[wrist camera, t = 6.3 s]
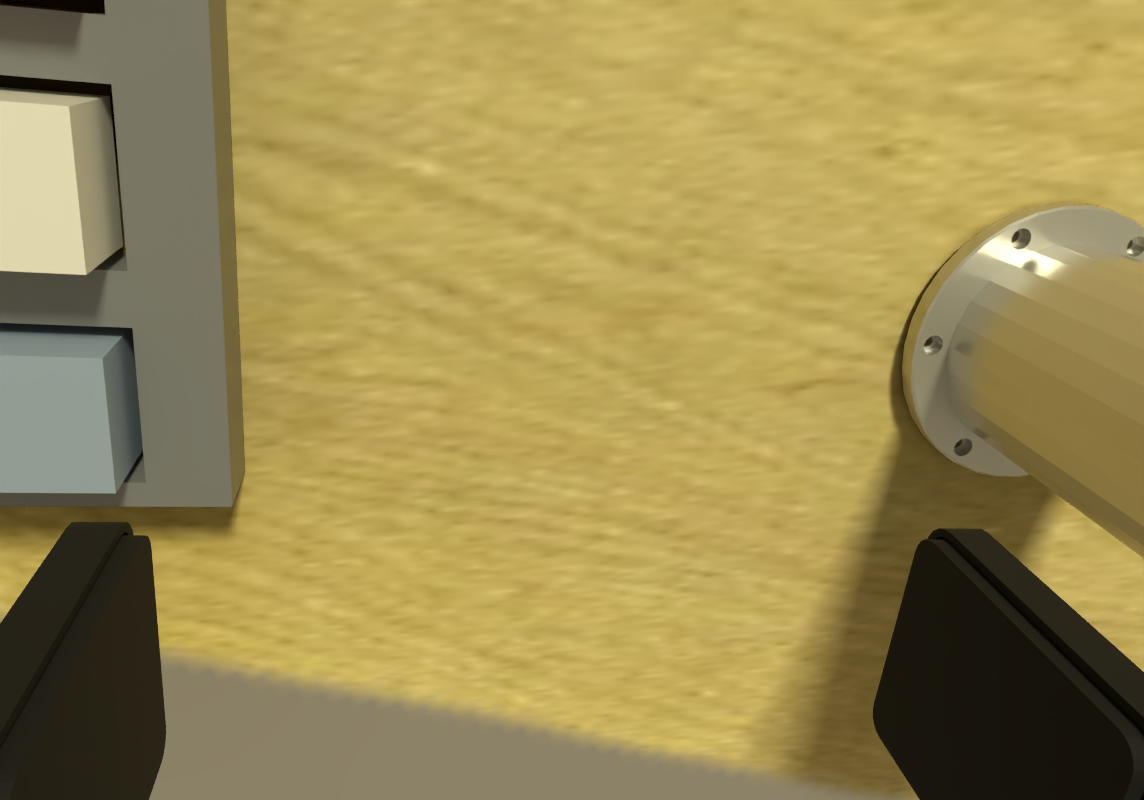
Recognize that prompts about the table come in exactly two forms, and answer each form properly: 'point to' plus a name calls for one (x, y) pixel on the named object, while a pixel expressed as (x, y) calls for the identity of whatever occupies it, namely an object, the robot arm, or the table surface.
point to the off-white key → (57, 182)
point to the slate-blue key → (67, 408)
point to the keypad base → (152, 236)
